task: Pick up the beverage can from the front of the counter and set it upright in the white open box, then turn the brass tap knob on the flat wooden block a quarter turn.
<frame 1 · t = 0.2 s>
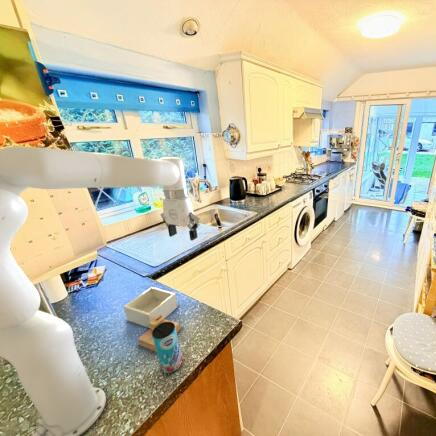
hand: (183, 237, 89), 31 cm above the worktop, tool pointing down, fingers open, 9 cm apart
flat wooden block: (160, 337, 83), on the worktop
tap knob: (157, 325, 81), point 6 cm above the worktop, hinge at 0.0°
beverage can: (172, 365, 74), on the worktop
white open box: (153, 313, 94), on the worktop
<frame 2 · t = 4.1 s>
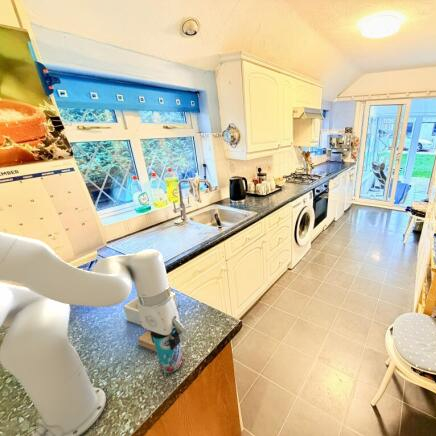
hand: (166, 342, 70), 10 cm above the worktop, tool pointing down, fingers closed on beverage can, 6 cm apart
beverage can: (172, 365, 74), on the worktop, touching gripper
everything else where it was.
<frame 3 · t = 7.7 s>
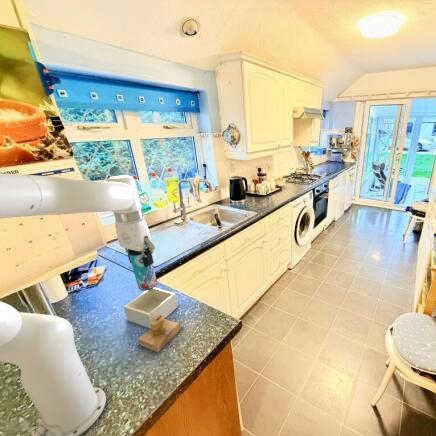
hand: (142, 262, 81), 26 cm above the worktop, tool pointing down, fingers closed on beverage can, 5 cm apart
beverage can: (148, 286, 85), point 16 cm above the worktop, touching gripper
everything else where it was.
when the fingers open (11 cm above the worktop, at t = 11.7 s): beverage can stays where it is, resting on white open box.
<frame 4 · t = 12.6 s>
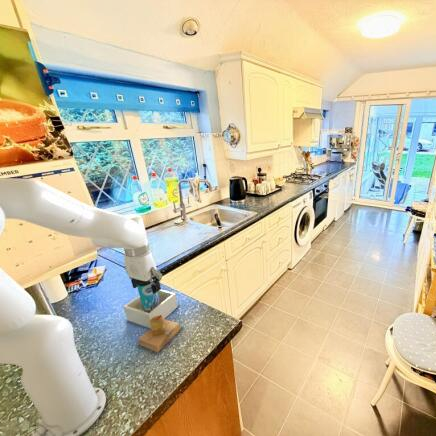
hand: (147, 288, 89), 12 cm above the worktop, tool pointing down, fingers open, 9 cm apart
beverage can: (153, 312, 94), point 1 cm above the worktop, touching white open box
everything else where it was.
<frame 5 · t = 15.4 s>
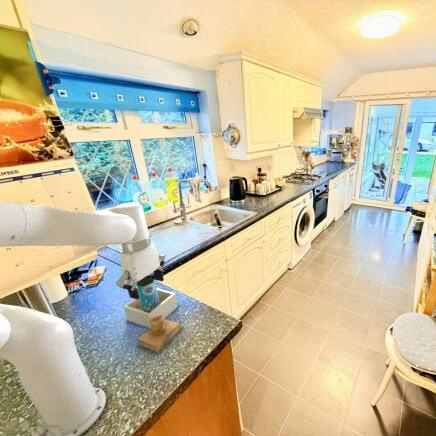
hand: (148, 288, 78), 19 cm above the worktop, tool pointing down, fingers open, 9 cm apart
nothing on the worktop moved.
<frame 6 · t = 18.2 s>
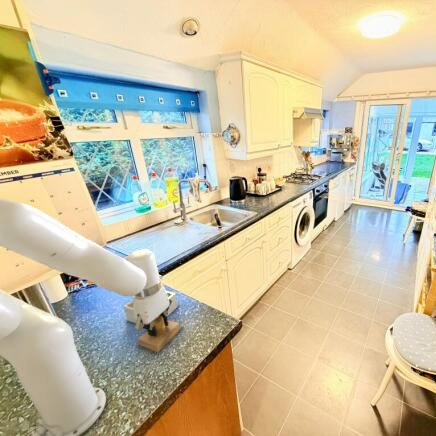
hand: (158, 329, 82), 4 cm above the worktop, tool pointing down, fingers closed on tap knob, 4 cm apart
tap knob: (157, 325, 81), point 6 cm above the worktop, hinge at 0.0°, touching gripper
everything else where it was.
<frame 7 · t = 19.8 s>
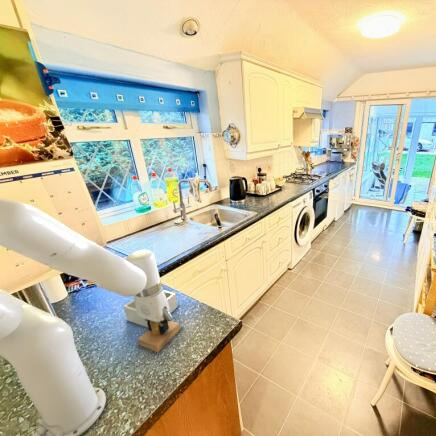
hand: (159, 329, 82), 4 cm above the worktop, tool pointing down, fingers open, 4 cm apart
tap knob: (157, 325, 81), point 6 cm above the worktop, hinge at 89.6°
everything else where it was.
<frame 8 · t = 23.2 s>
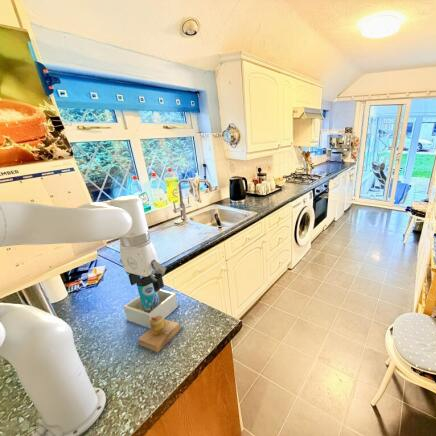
hand: (147, 285, 75), 22 cm above the worktop, tool pointing down, fingers open, 9 cm apart
nothing on the worktop moved.
at the end: beverage can inside the target area in the white open box (0.0 cm from its centre), point 0.6 cm above the white open box's base; beverage can tilted 0°; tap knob at +90° (first picture: +0°) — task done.
